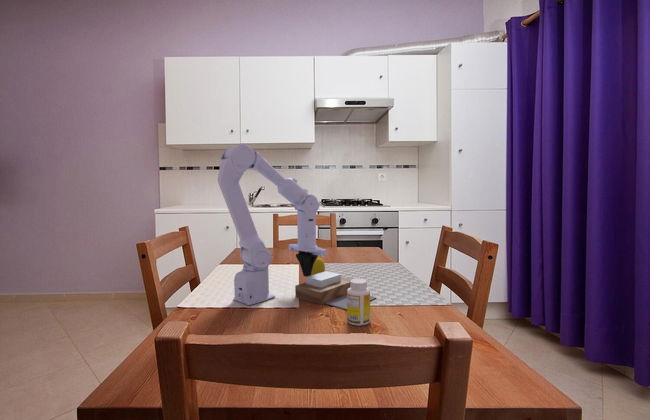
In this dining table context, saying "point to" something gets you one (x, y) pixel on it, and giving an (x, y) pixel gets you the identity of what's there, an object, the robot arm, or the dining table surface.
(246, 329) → the dining table surface
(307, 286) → the block
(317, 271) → the lemon
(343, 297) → the mat
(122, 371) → the dining table surface
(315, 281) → the light grey block
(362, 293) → the supplement bottle
